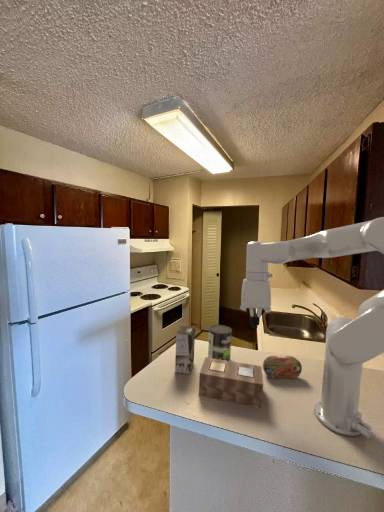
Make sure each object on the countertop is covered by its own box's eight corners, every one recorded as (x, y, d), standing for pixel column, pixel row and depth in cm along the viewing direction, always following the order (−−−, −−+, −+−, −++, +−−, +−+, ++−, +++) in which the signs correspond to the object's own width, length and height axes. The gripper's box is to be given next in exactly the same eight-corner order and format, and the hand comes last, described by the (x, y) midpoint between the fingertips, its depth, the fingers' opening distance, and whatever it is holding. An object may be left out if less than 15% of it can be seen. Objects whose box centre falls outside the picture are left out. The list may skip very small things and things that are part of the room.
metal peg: (251, 389, 82) (253, 368, 82) (252, 398, 77) (253, 377, 77) (237, 386, 83) (238, 366, 83) (237, 395, 79) (238, 374, 78)
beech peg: (224, 383, 85) (225, 364, 84) (222, 392, 80) (223, 371, 79) (211, 381, 86) (211, 361, 85) (208, 389, 81) (209, 369, 80)
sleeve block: (260, 386, 84) (261, 366, 84) (261, 407, 74) (263, 384, 73) (204, 376, 90) (205, 357, 89) (198, 395, 79) (199, 373, 78)
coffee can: (235, 359, 103) (236, 329, 102) (220, 368, 96) (221, 335, 95) (217, 351, 110) (219, 322, 109) (202, 358, 103) (204, 328, 102)
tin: (264, 379, 89) (265, 358, 89) (261, 374, 93) (262, 354, 92) (301, 379, 90) (303, 359, 89) (297, 374, 93) (299, 355, 93)
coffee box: (190, 374, 91) (191, 335, 89) (174, 372, 92) (175, 333, 91) (194, 362, 99) (195, 326, 98) (180, 360, 101) (181, 325, 99)
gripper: (277, 275, 83) (274, 324, 84) (235, 273, 86) (233, 321, 87) (280, 279, 76) (278, 332, 77) (235, 277, 79) (233, 328, 80)
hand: (254, 326), depth 82 cm, fingers closed
